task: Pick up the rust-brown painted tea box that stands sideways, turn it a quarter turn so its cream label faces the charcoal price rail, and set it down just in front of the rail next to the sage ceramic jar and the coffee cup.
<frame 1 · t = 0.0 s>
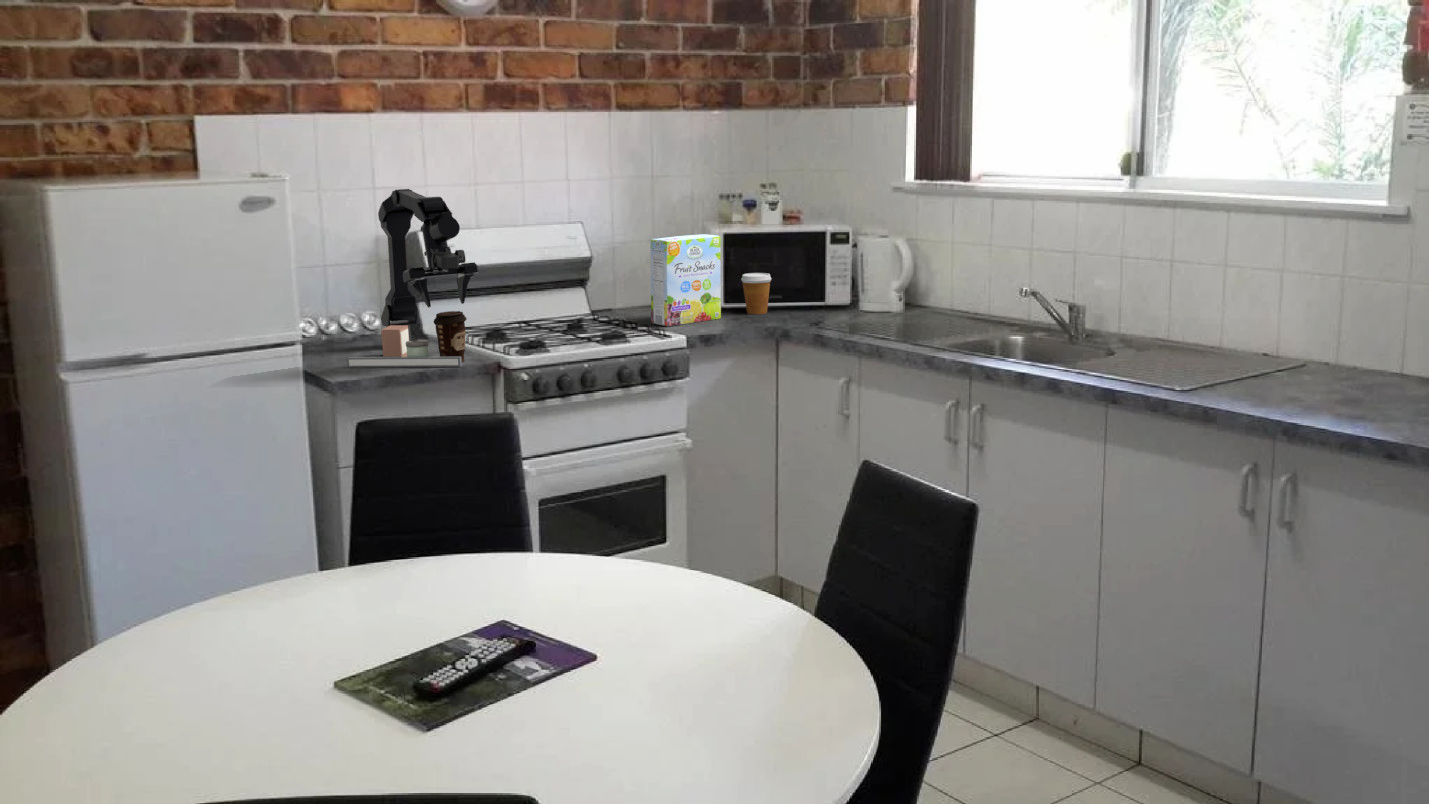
hand: (446, 305, 348), 15 cm above the table, tool pointing down, fingers open, 9 cm apart
tea box: (396, 356, 364), on the table
disposable coffee cup: (757, 313, 423), on the table
spice jar: (418, 364, 353), on the table
price rail: (404, 366, 350), on the table
coffee cup: (453, 362, 355), on the table
snack box: (687, 322, 410), on the table
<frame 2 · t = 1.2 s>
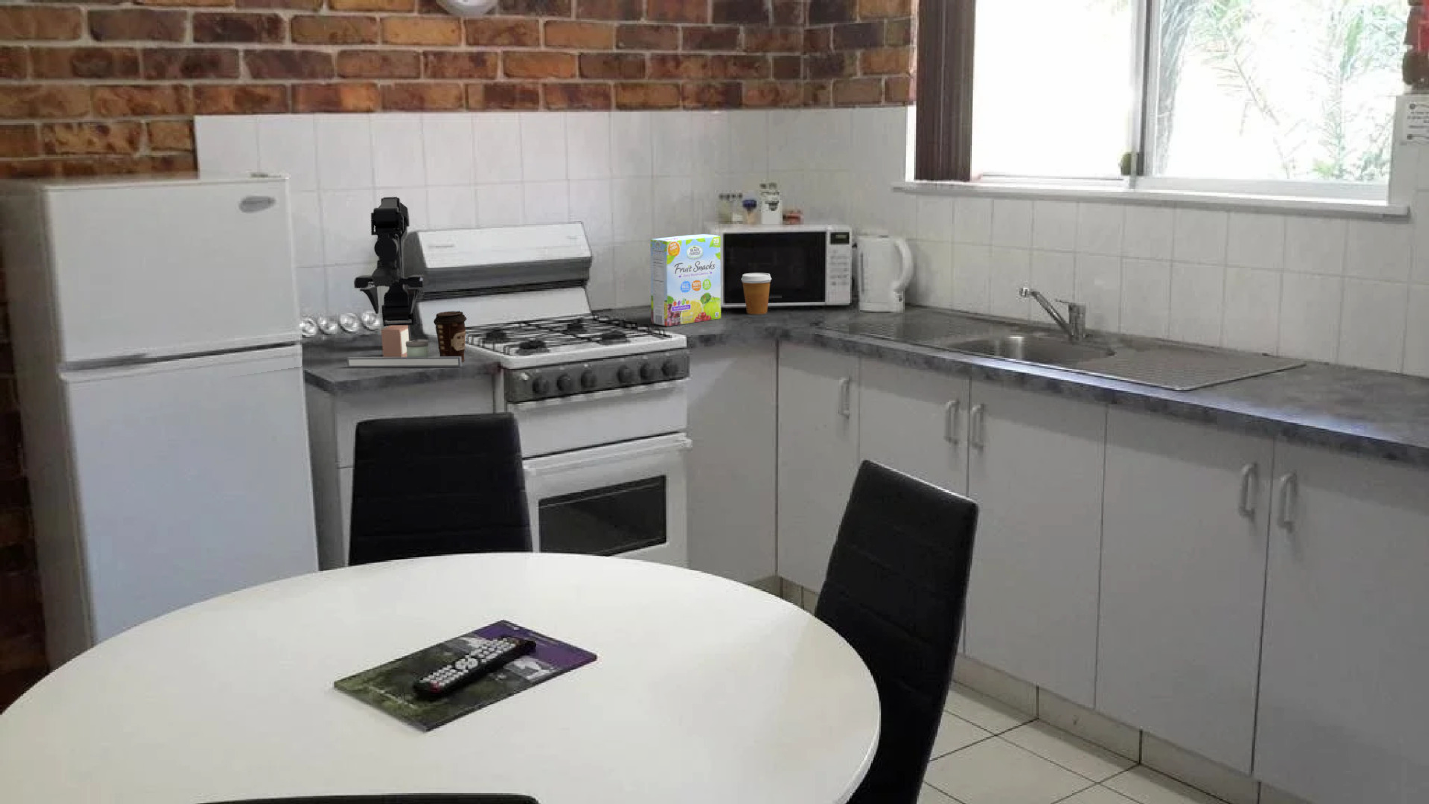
hand: (393, 313, 362), 12 cm above the table, tool pointing down, fingers open, 9 cm apart
nothing on the table moved.
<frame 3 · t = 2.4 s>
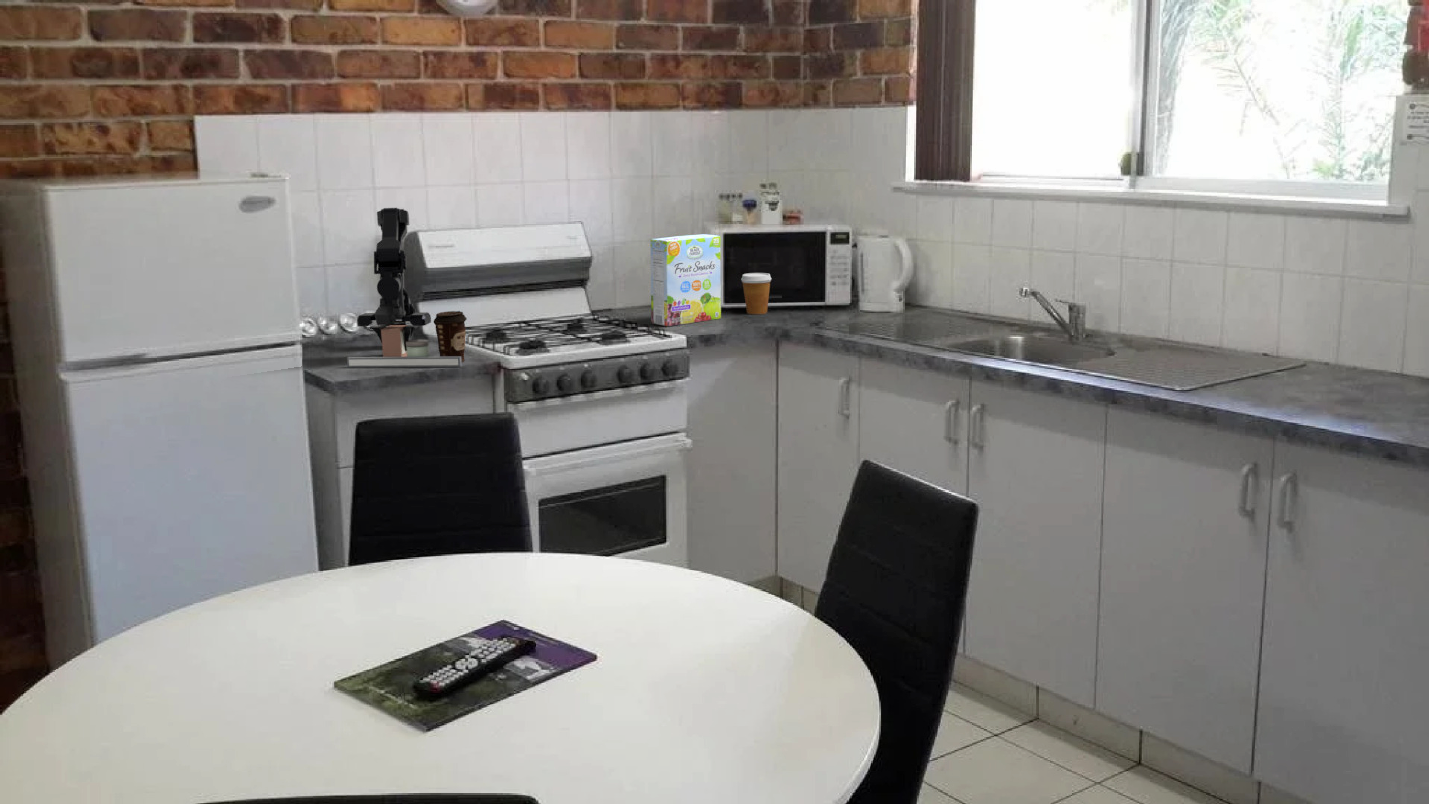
hand: (396, 351, 364), 2 cm above the table, tool pointing down, fingers closed on tea box, 5 cm apart
tea box: (396, 356, 364), on the table, touching gripper
everything else where it was.
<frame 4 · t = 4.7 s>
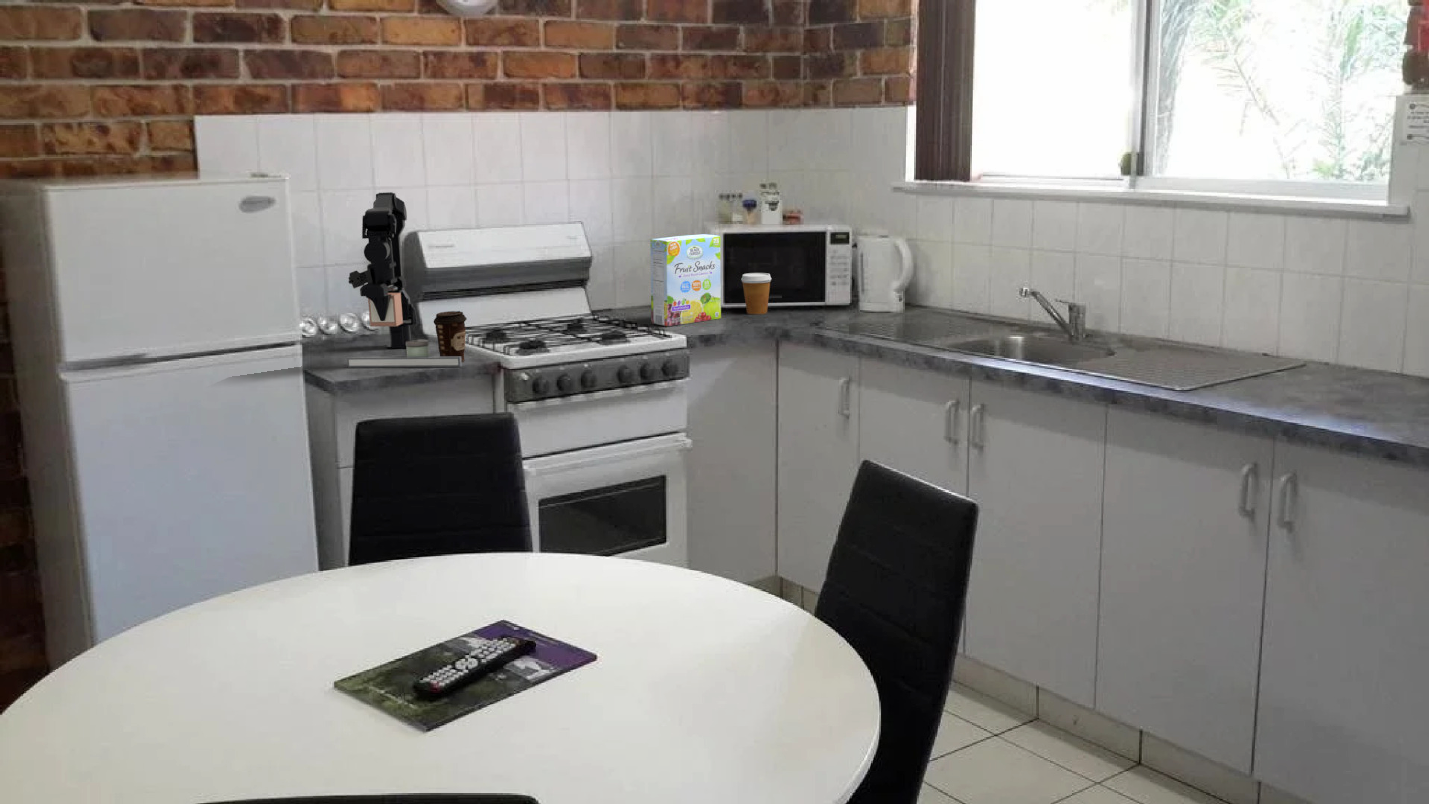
hand: (386, 319, 352), 12 cm above the table, tool pointing down, fingers closed on tea box, 5 cm apart
tea box: (386, 324, 352), point 10 cm above the table, touching gripper
everything else where it was.
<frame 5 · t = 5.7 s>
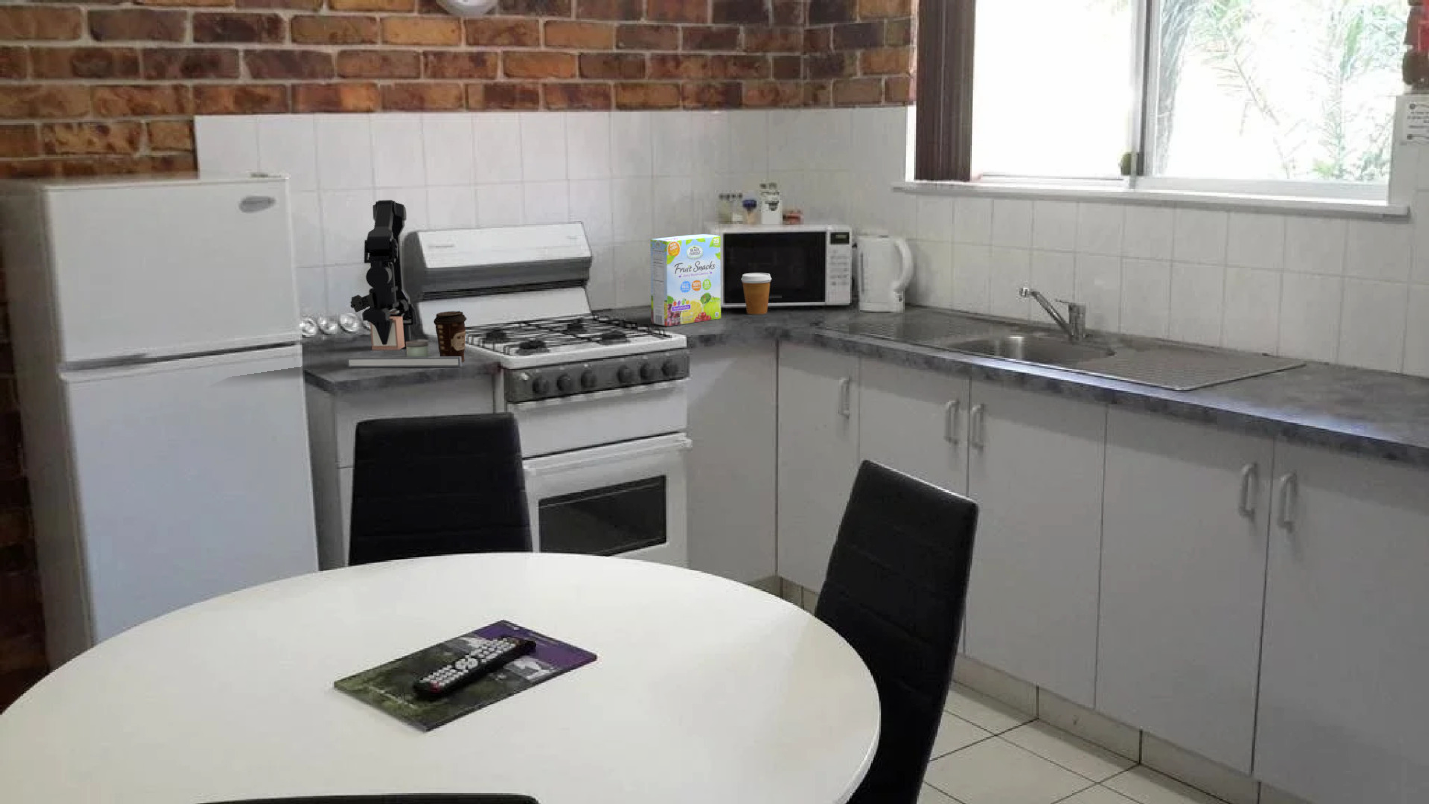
hand: (388, 342, 353), 6 cm above the table, tool pointing down, fingers closed on tea box, 5 cm apart
tea box: (388, 348, 354), point 4 cm above the table, touching gripper
everything else where it was.
when the fingers open (3 cm above the table, at t = 6.5 s): tea box drops 2 cm, on the table.
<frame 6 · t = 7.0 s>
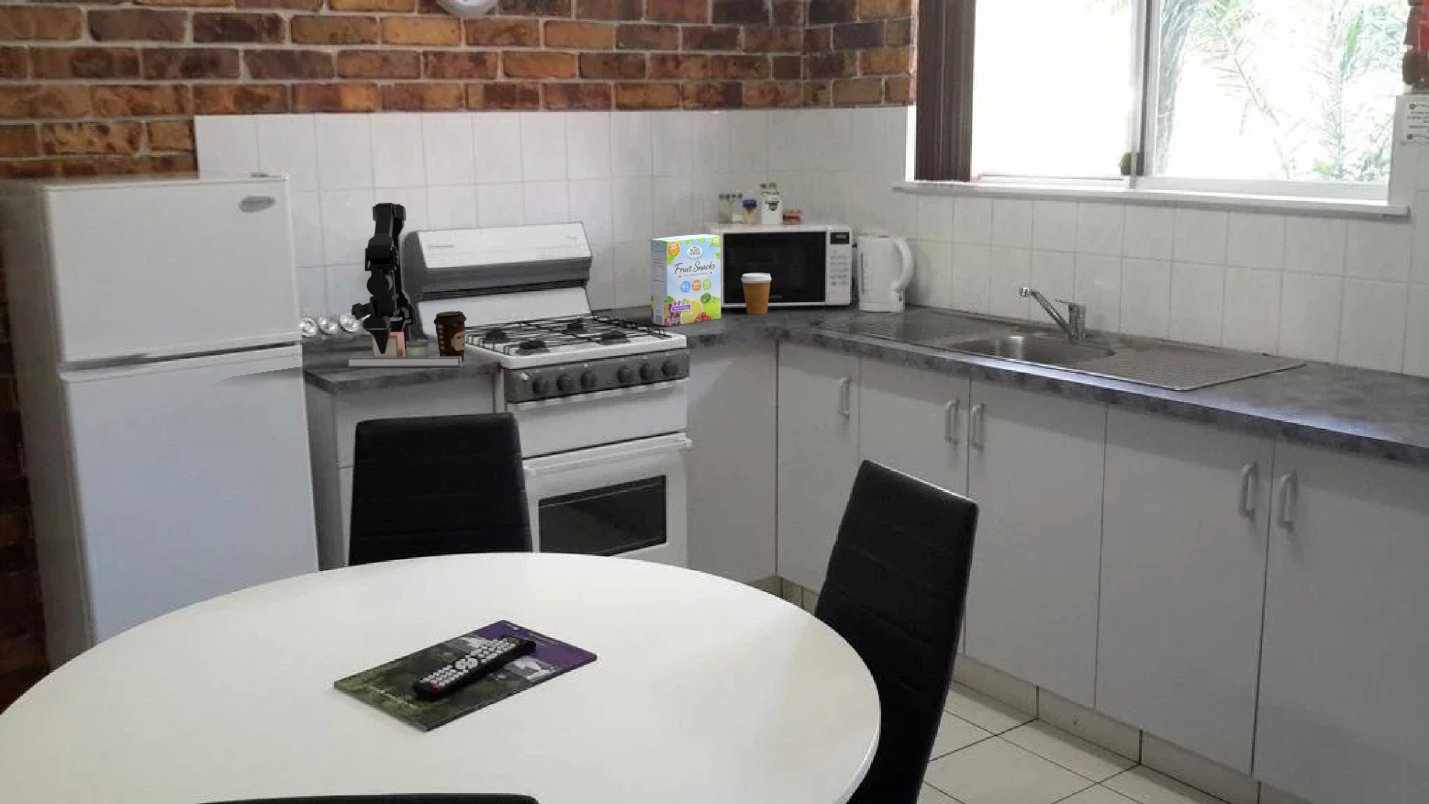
hand: (388, 350, 354), 3 cm above the table, tool pointing down, fingers open, 9 cm apart
tea box: (389, 363, 355), on the table
everything else where it was.
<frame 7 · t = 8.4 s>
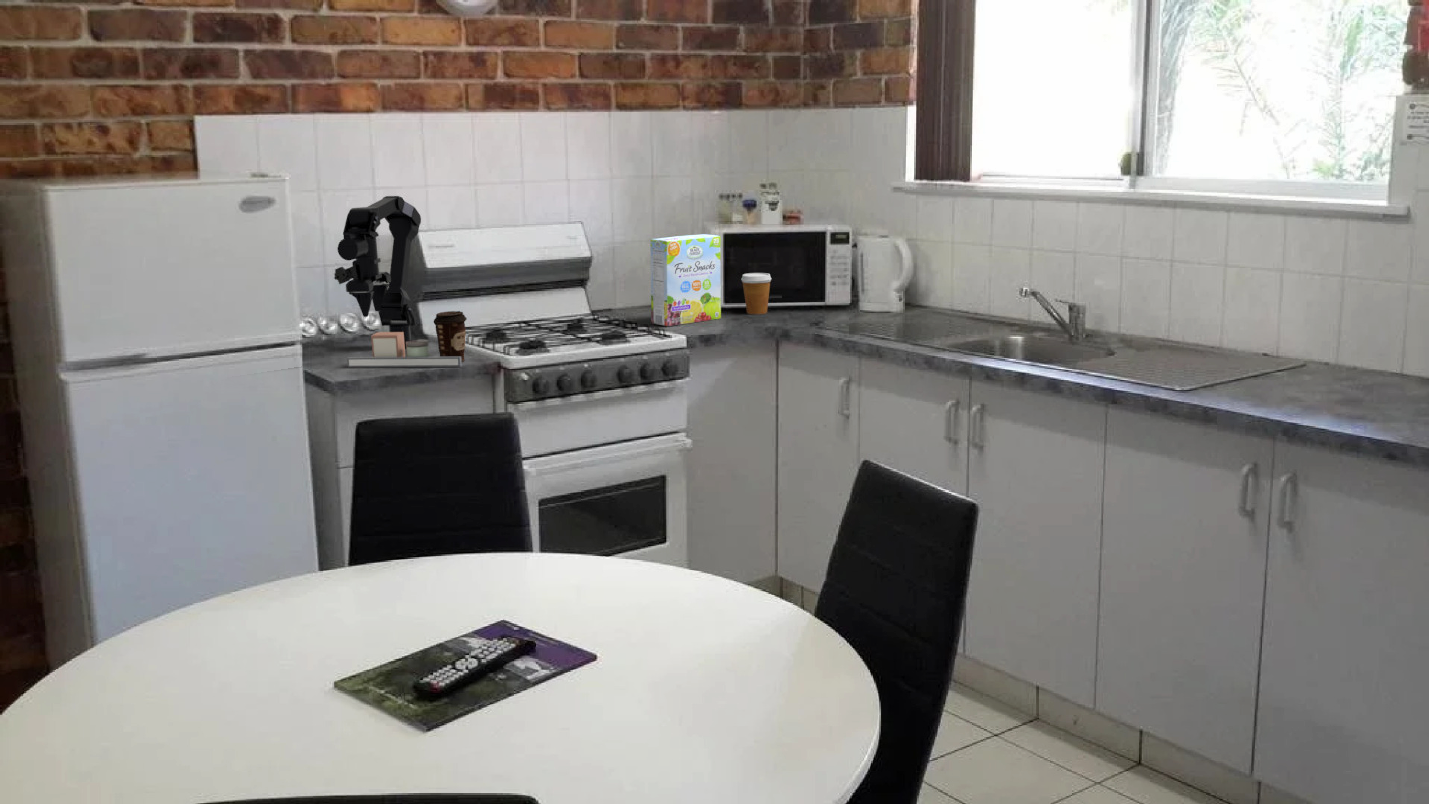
hand: (371, 313, 361), 12 cm above the table, tool pointing down, fingers open, 9 cm apart
nothing on the table moved.
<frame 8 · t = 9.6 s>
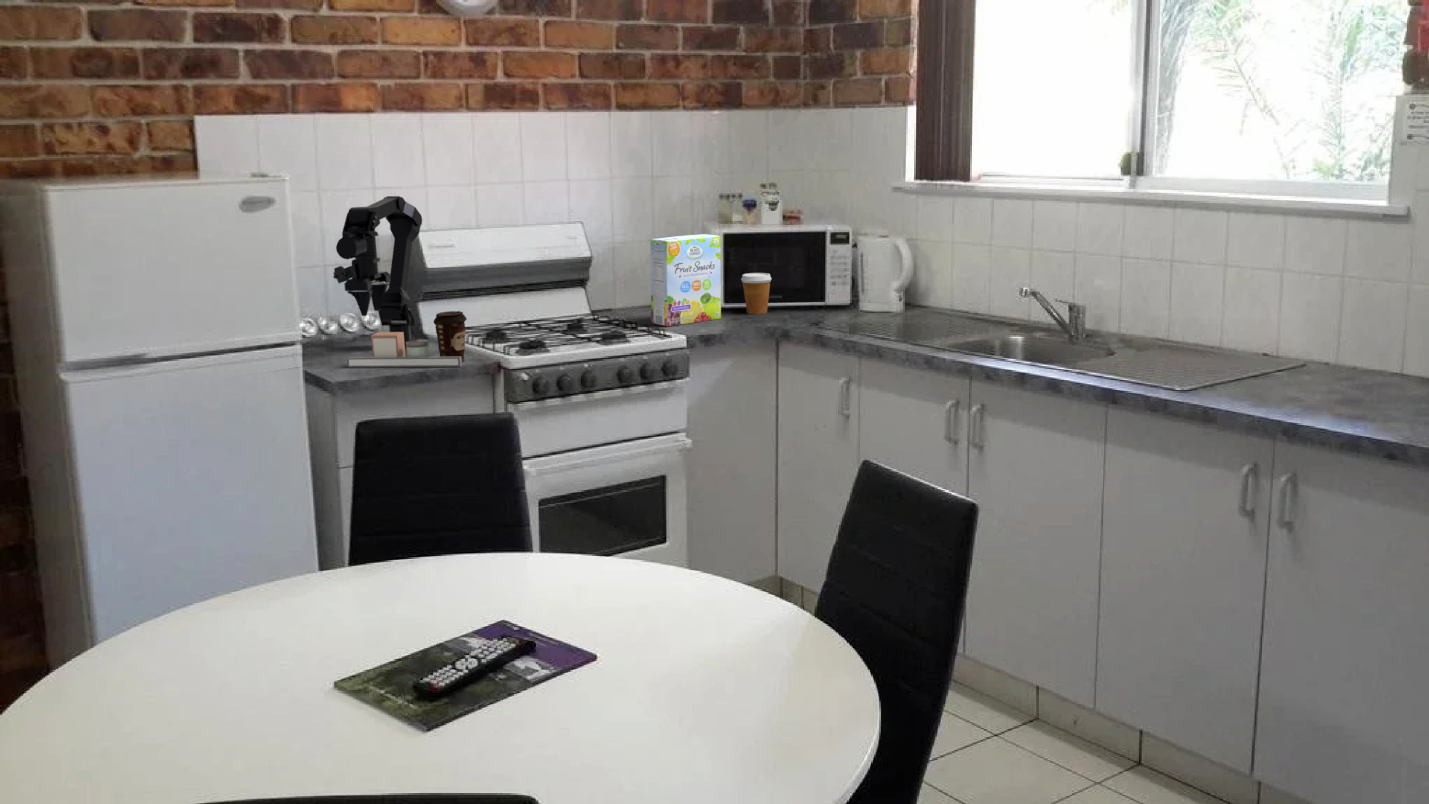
hand: (370, 313, 361), 12 cm above the table, tool pointing down, fingers open, 9 cm apart
nothing on the table moved.
at the end: tea box inside the target area (0.2 cm from its centre), on the table; tea box tilted 0°; coffee cup moved 0.2 cm from its start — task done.
